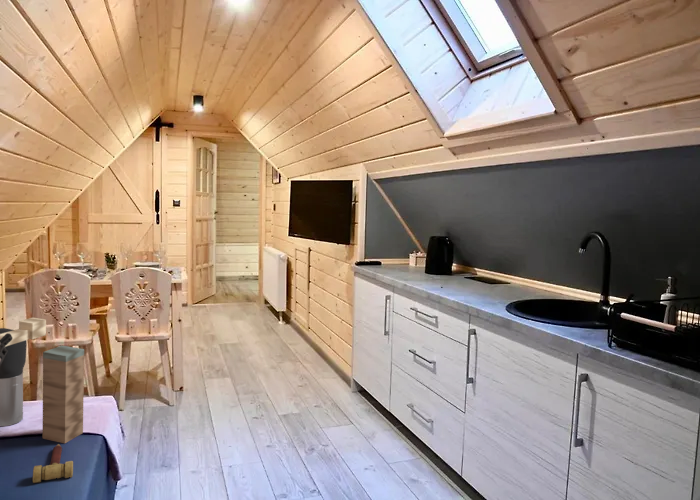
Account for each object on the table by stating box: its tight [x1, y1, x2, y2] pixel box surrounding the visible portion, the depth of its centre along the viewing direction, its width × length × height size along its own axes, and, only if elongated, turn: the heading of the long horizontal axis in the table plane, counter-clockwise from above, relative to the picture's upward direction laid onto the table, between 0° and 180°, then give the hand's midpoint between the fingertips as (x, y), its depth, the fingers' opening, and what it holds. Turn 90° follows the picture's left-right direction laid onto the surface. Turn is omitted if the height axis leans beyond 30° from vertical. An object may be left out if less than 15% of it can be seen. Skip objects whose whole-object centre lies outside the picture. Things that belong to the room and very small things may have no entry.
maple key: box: [0, 317, 47, 347], centre depth 152 cm, size 17×5×5 cm, turn 166°
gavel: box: [32, 443, 74, 484], centre depth 157 cm, size 21×5×10 cm
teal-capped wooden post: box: [42, 345, 85, 444], centre depth 173 cm, size 8×9×30 cm
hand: (5, 334), depth 148 cm, fingers closed on maple key, 3 cm apart
